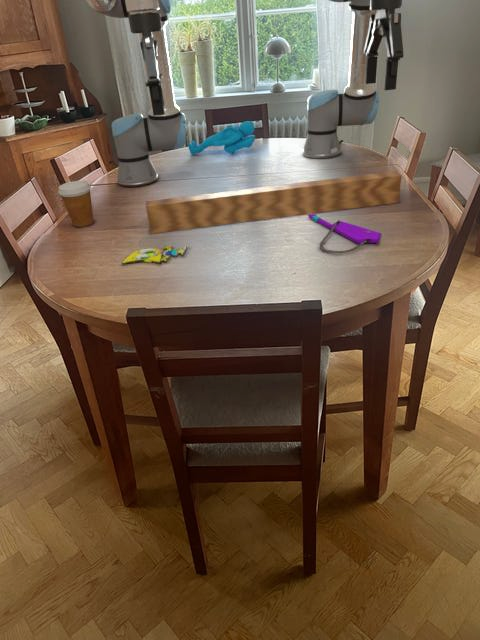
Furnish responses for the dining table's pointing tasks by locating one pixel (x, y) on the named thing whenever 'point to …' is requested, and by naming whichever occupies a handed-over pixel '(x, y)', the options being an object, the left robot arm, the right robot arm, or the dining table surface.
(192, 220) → the beam
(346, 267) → the dining table surface
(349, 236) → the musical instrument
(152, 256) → the toy
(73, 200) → the disposable coffee cup
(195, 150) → the toy
